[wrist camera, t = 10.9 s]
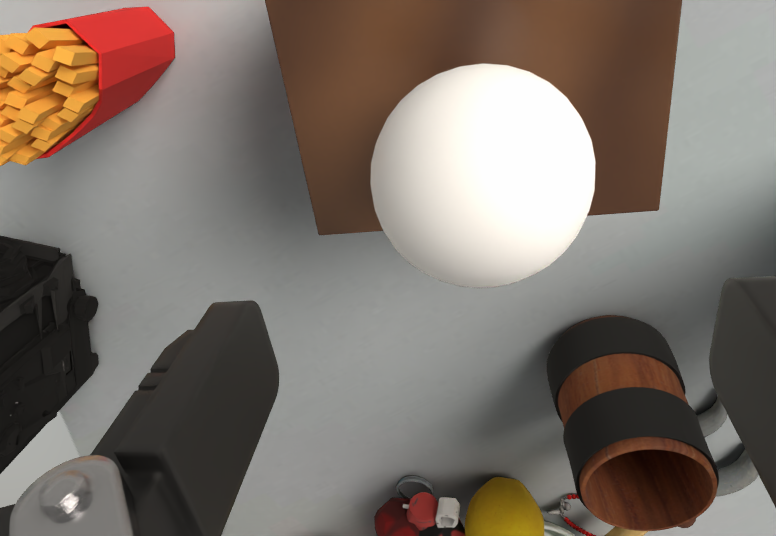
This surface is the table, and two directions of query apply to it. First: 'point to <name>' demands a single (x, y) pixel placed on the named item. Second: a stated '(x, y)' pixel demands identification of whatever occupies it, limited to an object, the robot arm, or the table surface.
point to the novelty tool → (729, 476)
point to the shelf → (469, 47)
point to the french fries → (76, 77)
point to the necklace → (567, 507)
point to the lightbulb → (483, 175)
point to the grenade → (419, 517)
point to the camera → (39, 340)
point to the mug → (630, 426)
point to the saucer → (555, 530)
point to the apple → (503, 510)
